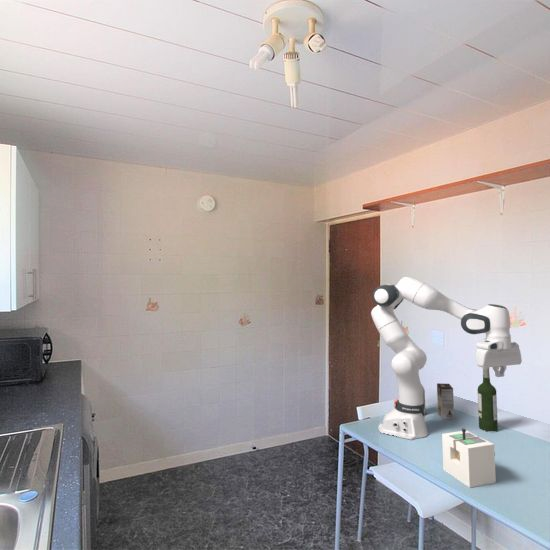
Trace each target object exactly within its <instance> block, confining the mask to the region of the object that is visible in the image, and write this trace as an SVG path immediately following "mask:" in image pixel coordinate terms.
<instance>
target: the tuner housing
mask: <svg viewBox="0 0 550 550" xmlns="http://www.w3.org/2000/svg"><path fill="white" fill-rule="evenodd" d="M465 430H466V429H465ZM441 439H442V440H441V441H442V445H441V446H442V468H443V471H444V472H446V473H448V474H449V475H451V477H453V478H455V479H456V480H458V482H460V483H462V484H464V485H465V486H467V488H469V489H471V488H475V487H480V486H487V485H492V484H495V483H496V482H497V481H496V479H497V478H496V461H495V460H496V459H495V457H496V453H495V452H494V451H495V444H494V443H493V442H491V441H488V440H487V439H484V438H482V437H479V436H478V435H476V434H474V433H472V432H471V431H468V430H466V432H465V440H463V432H462V430H459V431H453V432H452V431H451V432H447V433H446V432H445V433H442V434H441ZM456 450H457V451H459V452H460V460H458V459H457V458H456Z"/></svg>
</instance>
